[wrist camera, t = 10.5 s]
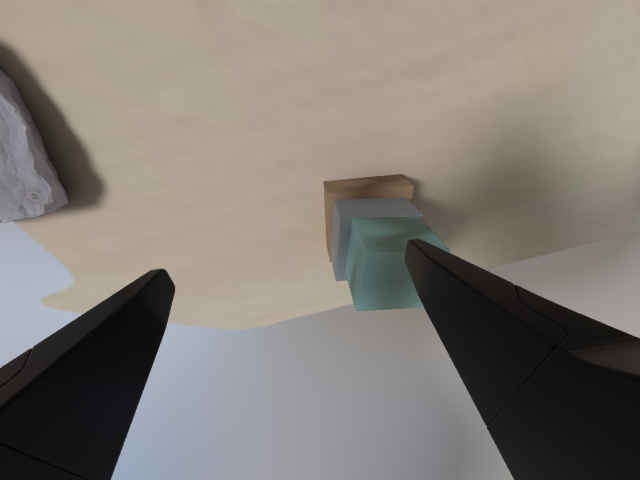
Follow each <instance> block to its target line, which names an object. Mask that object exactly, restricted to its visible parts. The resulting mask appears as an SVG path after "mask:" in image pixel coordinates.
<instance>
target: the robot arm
mask: <svg viewBox="0 0 640 480" xmlns="http://www.w3.org/2000/svg"><path fill="white" fill-rule="evenodd" d="M405 263H406V266H407V268H408V271H409V274H410V276H411V279H412V281H413V284H414V287H415V289H416V292H417V294H418V296H419V298H420V300H421V302H422V304H423V306H424V308H425V310H426V312H427V314H428V316H429V317H430V320H431V321H432V323H433V325H434V327H435V329H436V331H437V333H438V335H439V337H440V339H441V341H442V343H443V344H444V346H445V348H446V350H447V352H448V354H449V356H450V358H451V360H452V362H453V364H454V365H455V367H456V369H457V371H458V373H459V375H460V377H461V379H462V381H463V383H464V385H465V386H466V388H467V390H468V392H469V394H470V396H471V398H472V400H473V402H474V404H475V405H476V407H477V409H478V411H479V413H480V415H481V417H482V419H483V421H484V423H485V424H486V425H487V429H488V431H489V433H490V435H491V436H492V438H493V440H494V442H495V444H496V446H497V448H498V450H499V452H500V453H501V455H502V457H503V459H504V461H505V463H506V464H507V467H508V469H509V471H510V473H511V475H512V476H513V478H514V480H640V338H638V337H635V336H632V335H630V334H627V333H625V332H623V331H620V330H618V329H615V328H613V327H611V326H608V325H606V324H603V323H601V322H599V321H596V320H594V319H591V318H589V317H587V316H585V315H582V314H580V313H577V312H575V311H573V310H570V309H568V308H566V307H563V306H561V305H558V304H556V303H554V302H552V301H549V300H547V299H545V298H543V297H541V296H538V295H536V294H534V293H532V292H530V291H528V290H526V289H524V288H522V287H520V286H517V285H515V286H514V284H513V283H511V282H509V281H507V280H505V279H503V278H501V277H499V276H496V275H494V274H492V273H490V272H488V271H486V270H484V269H482V268H480V267H478V266H476V265H474V264H471V263H469V262H467V261H465V260H463V259H461V258H459V257H457V256H455V255H453V254H451V253H449V252H446V251H444V250H442V249H440V248H438V247H436V246H434V245H432V244H430V243H428V242H426V241H424V240H421V239H410V240H408V242H407V246H406V252H405ZM174 293H175V285H174V283H173V281H172V280H171V278H170V276H169V274H168V273H167V271H166V270H165V269H155V270H151V271H149V272H147V273H146V274H144V275H143V276H141V277H140V278H138V279H137V280H135V281H133V282H132V283H130V284H129V285H127V286H126V287H124V288H123V289H121V290H120V291H118V292H117V293H115V294H113V295H112V296H110V297H109V298H107V299H106V300H104V301H103V302H101V303H100V304H98V305H97V306H95V307H94V308H92V309H90V310H89V311H87V312H86V313H84V314H83V315H81V316H80V317H78V318H77V319H75V320H74V321H72V322H70V323H69V324H67V325H66V326H64V327H63V328H61V329H60V330H58V331H57V332H55V333H54V334H52V335H50V336H49V337H48V338H46V339H44V340H43V341H41V342H40V343H38V344H37V345H35V346H34V347H33V349H29V350H27V351H26V352H25V353H23V354H21V355H20V356H18V357H17V358H15V359H13V360H12V361H10V362H9V363H7V364H6V365H4V366H2V367H1V368H0V480H111V477H112V474H113V472H114V469H115V466H116V464H117V461H118V458H119V455H120V453H121V450H122V447H123V445H124V441H125V439H126V436H127V433H128V431H129V428H130V425H131V423H132V420H133V417H134V414H135V412H136V409H137V406H138V404H139V401H140V398H141V395H142V392H143V390H144V387H145V384H146V382H147V379H148V376H149V373H150V371H151V368H152V365H153V362H154V360H155V357H156V354H157V352H158V348H159V346H160V343H161V340H162V338H163V335H164V332H165V329H166V325H167V322H168V318H169V314H170V310H171V305H172V301H173V297H174Z"/></svg>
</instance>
